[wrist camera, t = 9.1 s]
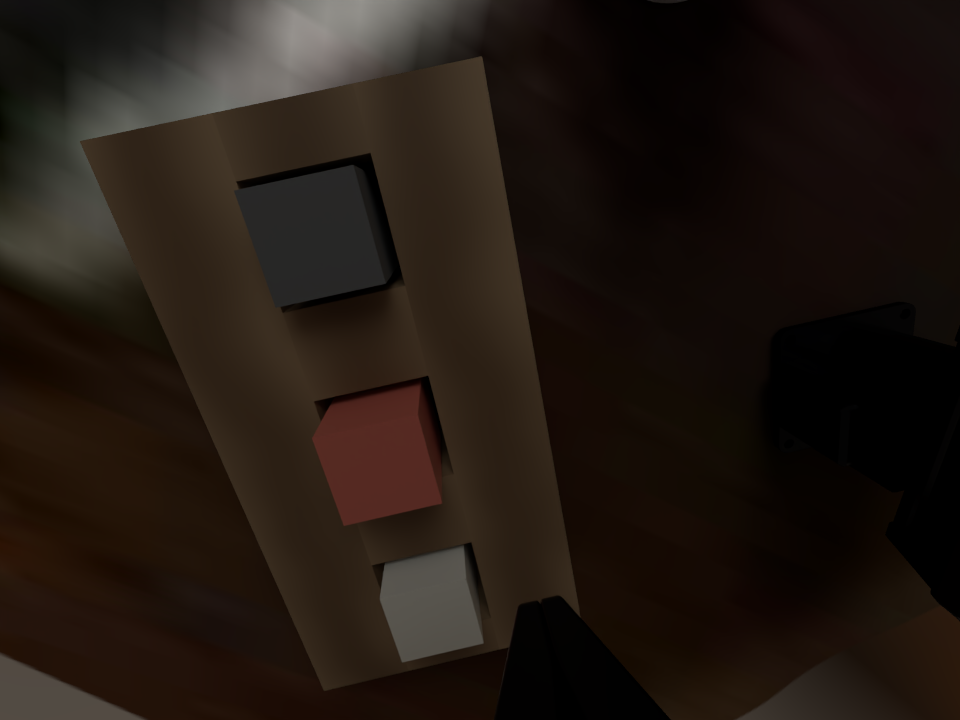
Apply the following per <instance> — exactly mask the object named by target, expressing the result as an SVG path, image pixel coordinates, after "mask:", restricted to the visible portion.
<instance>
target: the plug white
mask: <svg viewBox="0 0 960 720" xmlns="http://www.w3.org/2000/svg"><path fill="white" fill-rule="evenodd" d="M380 602H381V605H382V607H383V610H384V613H385V616H386V619H387V621H388V624H389V627H390V630H391V633H392V635H393V638H394V641H395V644H396V647H397V649H398V652H399V655H400V658H401V661H402V663H403V662H407V661H411V660H415V659H419V658H424V657H428V656H432V655H436V654H441V653H445V652H449V651H453V650H458V649H462V648H466V647H470V646H475V645H479V644H483V643H484V641H483V632H482V622H481V613H480V604H479V594H478V585H477V576H476V566H475V557H474V553H473V549H472V545H471V542H470V543H466V544H461V545H457V546H453V547H449V548H444V549H440V550H436V551H431V552H427V553H423V554H418V555H414V556H410V557H405V558H401V559H397V560H392V561H388V562H385V566H384V572H383V579H382V586H381V593H380Z"/></svg>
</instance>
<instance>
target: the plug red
mask: <svg viewBox="0 0 960 720" xmlns="http://www.w3.org/2000/svg"><path fill="white" fill-rule="evenodd" d="M312 440H313V443H314V445H315V448H316V451H317V454H318V456H319V459H320V462H321V465H322V467H323V470H324V473H325V475H326V478H327V481H328V484H329V486H330V489H331V492H332V495H333V497H334V500H335V503H336V506H337V508H338V511H339V514H340V517H341V519H342V522H343V525H344V526H346V525H350V524H355V523H359V522H363V521H368V520H372V519H376V518H381V517H385V516H389V515H394V514H398V513H402V512H407V511H411V510H416V509H420V508H424V507H429V506H433V505H437V504H442V464H441V433H440V429H439V426H438V422H437V418H436V414H435V410H434V406H433V403H432V399H431V395H430V391H429V387H428V383H427V380H426V376H425V377H420V378H416V379H411V380H407V381H402V382H398V383H393V384H389V385H384V386H380V387H376V388H371V389H367V390H362V391H358V392H353V393H349V394H344V395H340V396H335V397H334V399H333V401H332V403H331V404H330V406H329V408H328V410H327V412H326V414H325V415H324V417H323V419H322V421H321V423H320V425H319V426H318V428H317V430H316V432H315V434H314V436H313V437H312Z"/></svg>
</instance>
